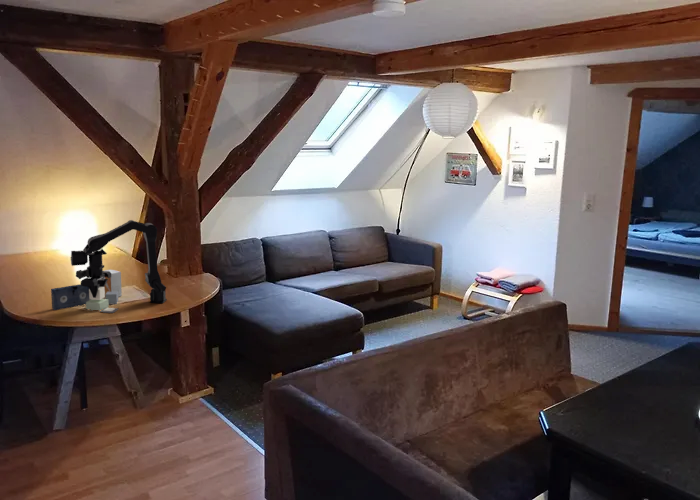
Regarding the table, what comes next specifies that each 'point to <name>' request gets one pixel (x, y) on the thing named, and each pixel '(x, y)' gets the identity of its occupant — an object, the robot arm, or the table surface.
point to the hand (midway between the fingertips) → (97, 296)
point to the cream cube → (98, 294)
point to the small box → (114, 282)
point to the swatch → (109, 310)
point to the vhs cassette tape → (69, 296)
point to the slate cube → (112, 297)
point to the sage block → (97, 304)
